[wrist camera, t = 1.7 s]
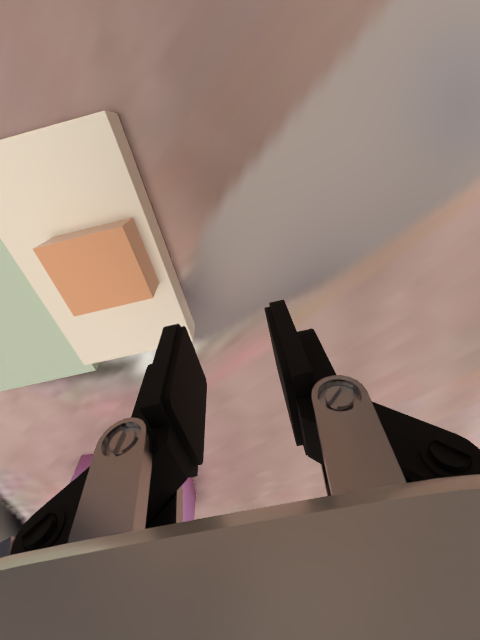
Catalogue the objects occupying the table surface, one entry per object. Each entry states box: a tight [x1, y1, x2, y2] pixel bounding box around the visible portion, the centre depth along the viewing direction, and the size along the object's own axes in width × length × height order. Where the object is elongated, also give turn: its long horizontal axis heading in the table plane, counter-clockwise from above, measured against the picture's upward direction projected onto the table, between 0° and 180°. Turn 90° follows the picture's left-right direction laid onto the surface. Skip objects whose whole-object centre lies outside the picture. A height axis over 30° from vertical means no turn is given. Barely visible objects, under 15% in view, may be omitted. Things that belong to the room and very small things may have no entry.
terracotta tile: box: [33, 217, 159, 317], centre depth 24 cm, size 7×6×3 cm
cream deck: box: [0, 111, 195, 365], centre depth 27 cm, size 12×20×3 cm, turn 13°
